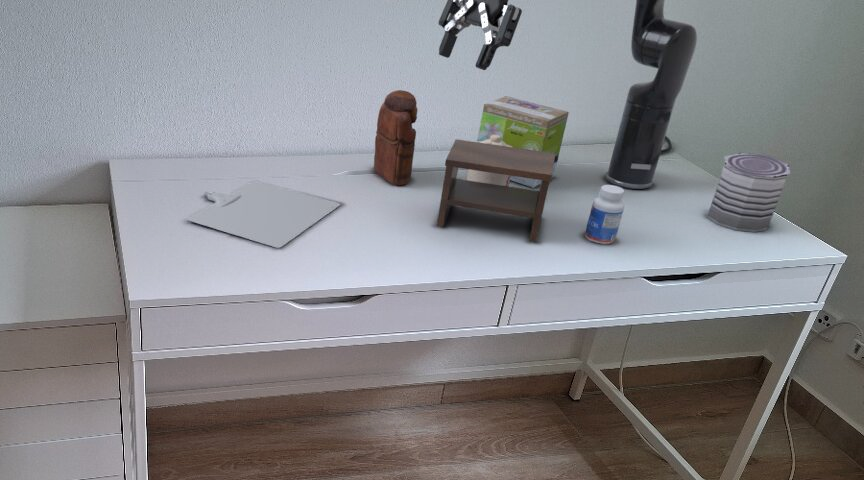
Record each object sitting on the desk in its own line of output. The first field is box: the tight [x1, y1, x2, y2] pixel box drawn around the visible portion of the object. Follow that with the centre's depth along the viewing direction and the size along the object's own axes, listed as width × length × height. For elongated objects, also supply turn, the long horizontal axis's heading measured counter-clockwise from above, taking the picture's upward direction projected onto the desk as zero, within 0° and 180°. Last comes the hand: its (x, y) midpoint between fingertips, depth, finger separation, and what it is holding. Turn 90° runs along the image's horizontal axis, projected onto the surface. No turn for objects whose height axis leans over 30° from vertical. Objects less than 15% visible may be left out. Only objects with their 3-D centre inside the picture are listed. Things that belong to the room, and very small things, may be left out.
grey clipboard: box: [186, 180, 341, 249], centre depth 163 cm, size 25×24×1 cm
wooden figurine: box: [373, 89, 418, 186], centre depth 179 cm, size 12×6×18 cm, turn 21°
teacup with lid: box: [465, 135, 512, 187], centre depth 176 cm, size 12×9×12 cm
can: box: [707, 152, 791, 233], centre depth 167 cm, size 11×11×12 cm
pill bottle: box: [584, 184, 625, 245], centre depth 157 cm, size 6×5×10 cm
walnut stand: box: [436, 138, 555, 243], centre depth 160 cm, size 13×18×13 cm
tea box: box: [476, 95, 570, 189], centre depth 184 cm, size 15×10×15 cm
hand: (461, 62), depth 144 cm, fingers open, 8 cm apart
